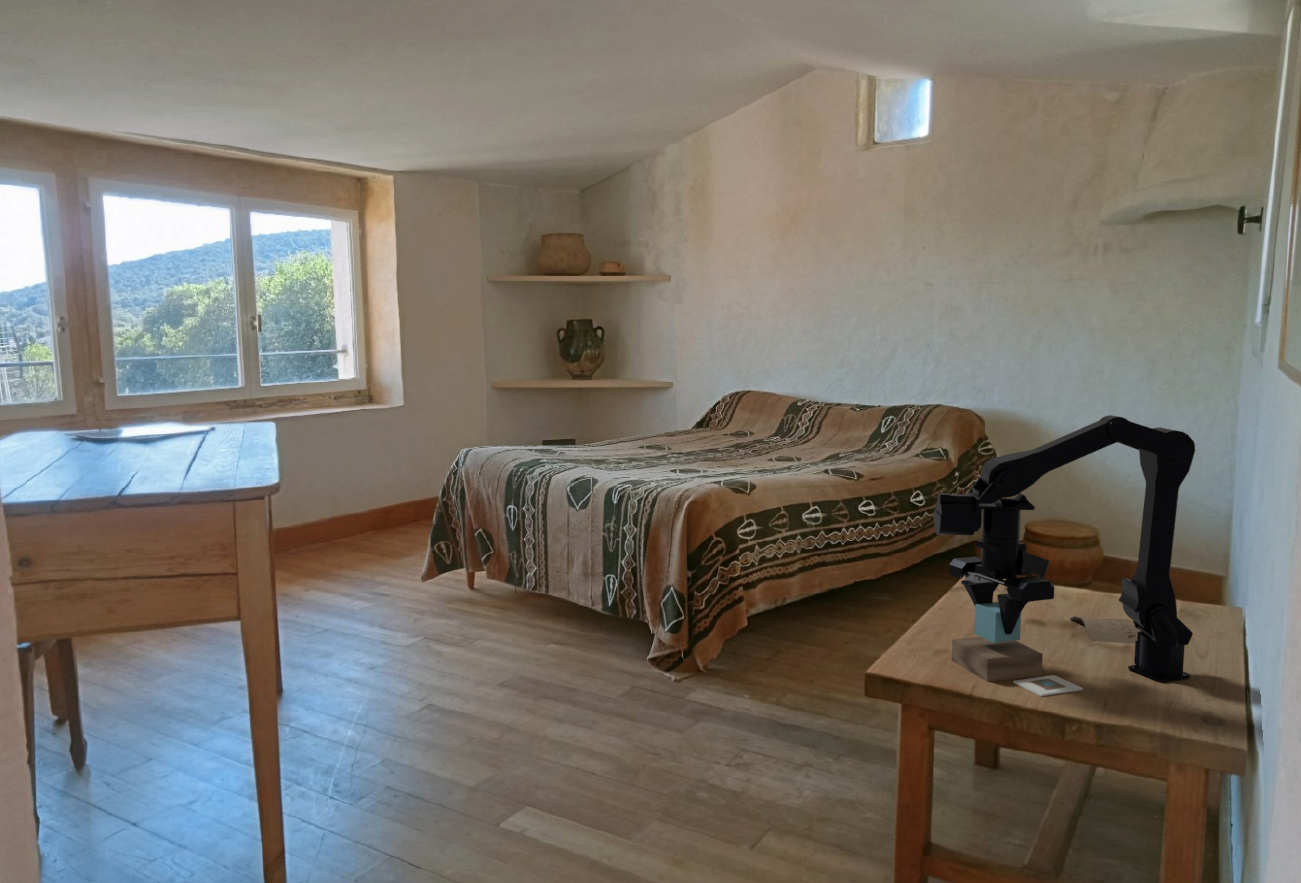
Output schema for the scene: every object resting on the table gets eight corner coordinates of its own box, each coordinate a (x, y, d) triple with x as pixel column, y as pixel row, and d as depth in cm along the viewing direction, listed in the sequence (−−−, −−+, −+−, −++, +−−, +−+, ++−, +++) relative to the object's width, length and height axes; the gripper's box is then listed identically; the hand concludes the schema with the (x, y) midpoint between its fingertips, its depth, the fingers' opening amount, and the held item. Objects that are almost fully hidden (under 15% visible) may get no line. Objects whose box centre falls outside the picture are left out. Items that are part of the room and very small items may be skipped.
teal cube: (1020, 639, 149) (1021, 609, 148) (994, 643, 147) (995, 612, 147) (998, 630, 153) (999, 601, 153) (974, 633, 152) (975, 604, 151)
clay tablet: (1067, 622, 178) (1068, 608, 178) (1122, 624, 176) (1123, 610, 176) (1092, 646, 164) (1093, 631, 163) (1152, 649, 162) (1153, 634, 162)
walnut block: (1041, 678, 147) (1042, 654, 147) (986, 683, 145) (987, 658, 144) (1003, 657, 157) (1004, 635, 156) (951, 662, 154) (952, 639, 154)
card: (1082, 689, 141) (1083, 686, 141) (1041, 696, 138) (1041, 693, 138) (1053, 676, 147) (1054, 673, 147) (1013, 682, 144) (1013, 679, 144)
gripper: (1084, 543, 142) (1079, 641, 144) (1001, 522, 160) (998, 609, 162) (1026, 549, 139) (1022, 649, 140) (948, 526, 156) (945, 615, 158)
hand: (997, 629), depth 150 cm, fingers closed on teal cube, 5 cm apart
